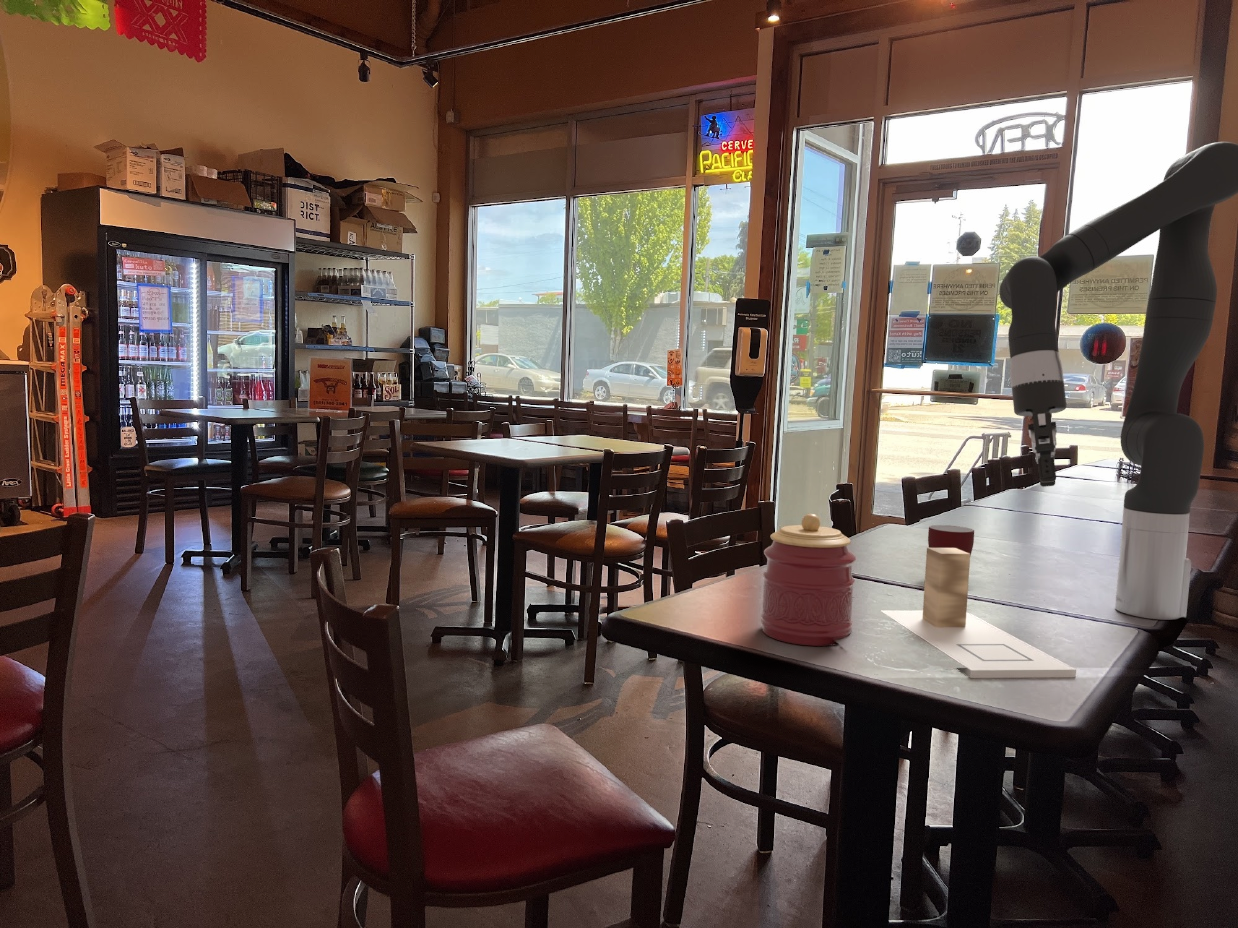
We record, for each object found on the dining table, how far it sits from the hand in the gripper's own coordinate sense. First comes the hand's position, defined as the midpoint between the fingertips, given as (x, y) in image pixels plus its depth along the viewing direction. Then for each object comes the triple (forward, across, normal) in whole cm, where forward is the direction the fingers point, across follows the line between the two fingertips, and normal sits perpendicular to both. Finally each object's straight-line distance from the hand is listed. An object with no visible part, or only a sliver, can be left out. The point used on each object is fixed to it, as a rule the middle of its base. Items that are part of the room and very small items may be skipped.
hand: (1048, 484), depth 133 cm
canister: (+21, -25, +34) cm, 47 cm away
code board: (+23, -17, +13) cm, 31 cm away
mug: (+15, +26, +18) cm, 35 cm away
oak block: (+20, -12, +16) cm, 29 cm away
